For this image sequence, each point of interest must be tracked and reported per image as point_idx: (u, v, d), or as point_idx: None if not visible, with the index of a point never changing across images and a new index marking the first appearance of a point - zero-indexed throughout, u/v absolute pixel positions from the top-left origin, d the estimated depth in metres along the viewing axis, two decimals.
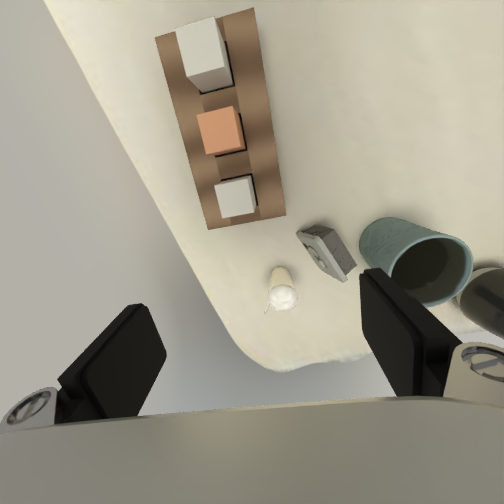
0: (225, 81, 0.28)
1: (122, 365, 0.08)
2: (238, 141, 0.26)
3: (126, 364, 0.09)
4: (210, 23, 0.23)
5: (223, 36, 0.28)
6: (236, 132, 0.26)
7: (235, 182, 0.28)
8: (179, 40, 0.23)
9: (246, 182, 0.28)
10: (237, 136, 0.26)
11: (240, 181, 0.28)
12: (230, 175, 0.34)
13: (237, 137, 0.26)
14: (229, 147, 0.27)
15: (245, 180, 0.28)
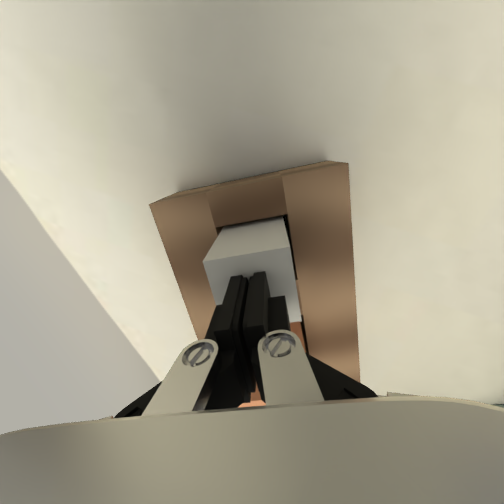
0: None
1: None
2: None
3: None
4: (279, 257, 0.11)
5: (282, 207, 0.14)
6: None
7: None
8: (212, 279, 0.11)
9: None
10: None
11: None
12: None
13: None
14: None
15: None
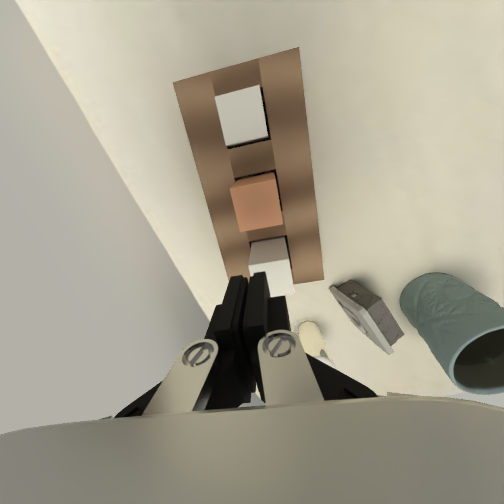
0: (261, 139, 0.26)
1: None
2: (280, 218, 0.21)
3: None
4: (254, 92, 0.21)
5: (258, 81, 0.22)
6: (279, 208, 0.21)
7: (274, 262, 0.23)
8: (219, 109, 0.21)
9: (287, 262, 0.23)
10: (279, 213, 0.21)
11: (280, 261, 0.23)
12: (260, 237, 0.29)
13: (279, 214, 0.21)
14: (268, 224, 0.22)
15: (286, 260, 0.23)
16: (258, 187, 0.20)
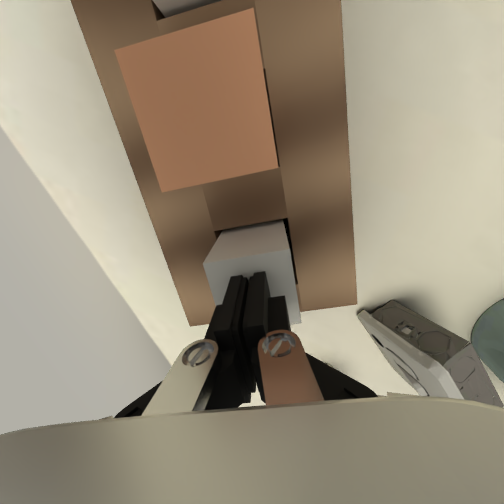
0: None
1: None
2: (271, 150, 0.07)
3: None
4: None
5: None
6: (266, 118, 0.07)
7: (258, 257, 0.11)
8: None
9: (287, 257, 0.11)
10: (269, 132, 0.07)
11: (271, 255, 0.11)
12: (237, 222, 0.15)
13: (268, 136, 0.07)
14: (238, 169, 0.08)
15: (285, 253, 0.11)
16: (201, 43, 0.07)
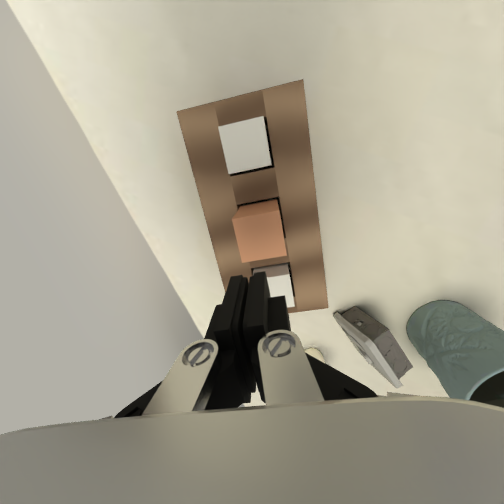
0: None
1: None
2: (284, 249, 0.21)
3: None
4: (258, 123, 0.21)
5: (262, 111, 0.22)
6: (282, 240, 0.20)
7: (276, 277, 0.25)
8: (222, 138, 0.21)
9: (288, 277, 0.25)
10: (283, 244, 0.20)
11: (281, 276, 0.25)
12: (263, 264, 0.28)
13: (283, 245, 0.20)
14: (272, 255, 0.21)
15: (287, 275, 0.25)
16: (261, 218, 0.20)
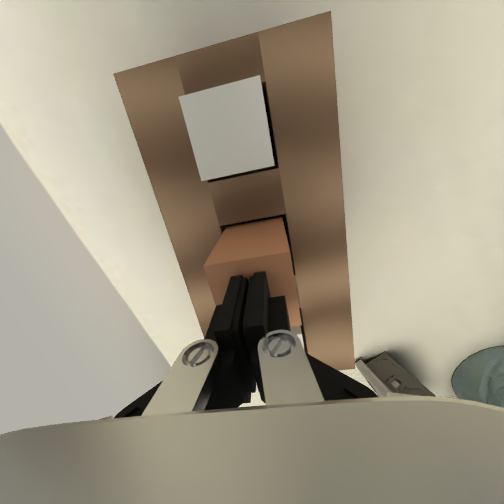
0: None
1: None
2: (297, 316, 0.12)
3: None
4: (250, 89, 0.11)
5: (259, 72, 0.13)
6: (295, 300, 0.11)
7: None
8: (188, 118, 0.12)
9: (300, 338, 0.16)
10: (296, 307, 0.12)
11: None
12: None
13: (296, 309, 0.12)
14: None
15: (298, 336, 0.16)
16: (257, 265, 0.11)
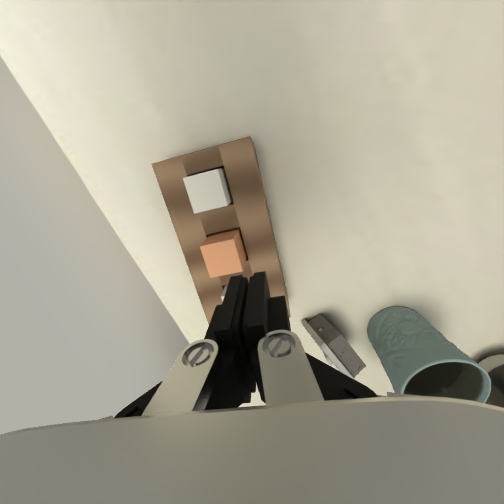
0: None
1: None
2: (240, 267, 0.28)
3: None
4: (214, 174, 0.26)
5: (220, 161, 0.28)
6: (238, 260, 0.27)
7: None
8: (187, 186, 0.26)
9: None
10: (239, 263, 0.27)
11: None
12: None
13: (239, 264, 0.27)
14: (231, 271, 0.28)
15: None
16: (221, 245, 0.27)
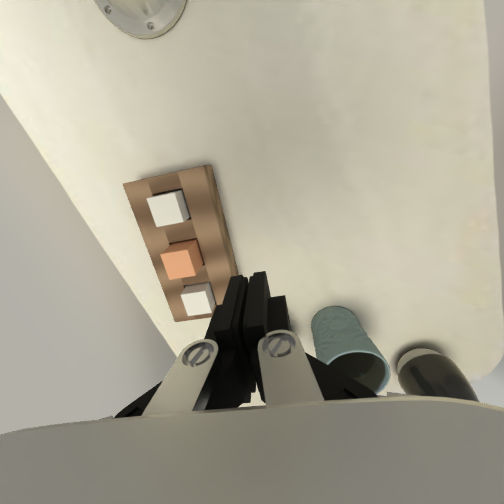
0: None
1: None
2: (193, 272, 0.34)
3: None
4: (171, 196, 0.32)
5: (179, 184, 0.34)
6: (191, 266, 0.33)
7: (196, 293, 0.37)
8: (150, 205, 0.32)
9: (204, 293, 0.37)
10: (192, 269, 0.34)
11: (200, 292, 0.37)
12: (191, 282, 0.39)
13: (192, 269, 0.34)
14: (186, 275, 0.34)
15: (203, 292, 0.37)
16: (177, 254, 0.33)
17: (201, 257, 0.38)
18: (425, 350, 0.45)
